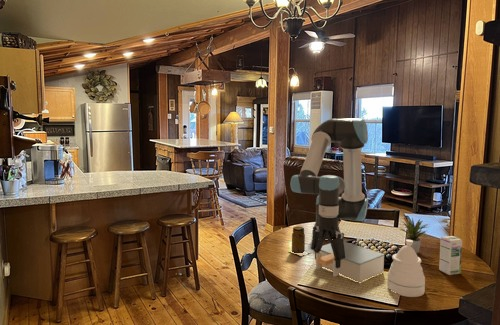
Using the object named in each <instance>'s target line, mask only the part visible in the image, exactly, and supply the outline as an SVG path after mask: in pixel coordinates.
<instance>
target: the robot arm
mask: <svg viewBox="0 0 500 325" xmlns="http://www.w3.org/2000/svg"><path fill="white" fill-rule="evenodd" d="M310 139H311V143H310V145H309V148H308V151H307V154H306V156H305V160H304V161H303V164H302V167H301V169H300V172H299V174H294V175H292V176H291V178H290V182H289V184H290V185H289V186H290V190H291V191H292V192H293V193H299V194H308V195H317V197H316V200H315V201H316V202H315V223H314V226H313V227H312V234H311V235H313V236H312V239H311V247H310V249H311V250H312V251H313V252H314V261H315V269H316V270H319V269H322V264H320V263H318V258H320V257H322V252H320V251H322V250H321V248H322V246H323V245H324V243H325V242H326V240H325V239H328V240H327V241H328V242H329V244H330V243H331V247H332V250H333V254H334V257H335V259H333V273H332V277H336V276H339V268H340V264H341V260H342V259H345V249H344V242H345V241H344V238H345V234H344V232H341V230H340V227H339V226H340V225H339V220H349V221H355V222H363V221H364V220H365V219H366V216H367V212H368V205H369V199H368V198H366V196H365V195H366V194H364V193H363V192H362V191H363V189H362V180H363V179H362V149H363V148H364V147H365V145H366V144H367V143H368V140H369V133H368V126H367V123H366V120H365V119H363V118H356V117H355V118H330V119H327V120H325V121H323V122H321V123H320V124H319V125H318V126H317V128H315V130H314V131H313V133H312V135H311V137H310ZM331 143H338V144H339V147H340V149H342V155H343V156H342V158H343V159H342V160H343V178H342V177H341V176H337V175H331V174H327V175H321V176H318V174H319V171H320V169H321V166H322V163H323V160H324V157H325V154H326V151H327V149H328V147H330V145H331ZM340 195H341V196H340ZM332 239H333V240H332Z"/></svg>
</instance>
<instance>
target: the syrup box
mask: <svg viewBox="0 0 500 325" xmlns="http://www.w3.org/2000/svg"><path fill="white" fill-rule="evenodd" d="M439 244H440V245H439V264H438V265H439V267H438V268H439V269H438V270H440V271H441V272H442V273H444V274H447V275H449V276H452V275H459V274H461V273H462V254H463V252H462V251H463V239H462V238H459V237H458V236H453V235H450V236H448V235H447V236H440V242H439Z"/></svg>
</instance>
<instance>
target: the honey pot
mask: <svg viewBox="0 0 500 325" xmlns="http://www.w3.org/2000/svg"><path fill="white" fill-rule="evenodd" d="M406 244H407V245H406ZM412 244H413V240H405V245H402V247H401V248H399V250H398V251H397V253H394V254H392V255H391V258H392V260H393V261H392V262H391V264H390V266H389V267H390V268H389V270H388V271H387V282H386V283H387V284H386V286H388V288H389V289H391V290H392V291H394V292H396V293H399V294H400V295H399V296H403V297H408V298H417V297H421V296H423V295H424V294H425V289H426V277H425V275H424V271H423V267H422V265H421V263H422V259H421V258H420V257H419V256H418V255H417V253H415V251H414V249H413V248H412V247H411V245H412ZM388 288H387V289H388ZM389 289H388V290H389ZM392 291H391V292H392ZM396 293H395V294H396Z"/></svg>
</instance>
